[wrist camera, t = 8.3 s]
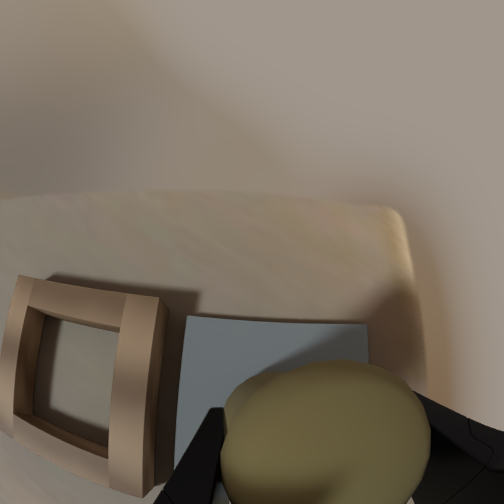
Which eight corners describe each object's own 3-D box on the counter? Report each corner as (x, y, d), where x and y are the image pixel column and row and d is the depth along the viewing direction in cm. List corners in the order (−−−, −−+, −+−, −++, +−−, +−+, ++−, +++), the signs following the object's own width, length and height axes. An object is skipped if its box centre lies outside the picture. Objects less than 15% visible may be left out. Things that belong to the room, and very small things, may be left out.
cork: (198, 421, 13) (124, 476, 3) (273, 350, 15) (342, 269, 6) (276, 485, 11) (341, 597, 1) (347, 412, 13) (494, 414, 4)
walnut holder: (154, 486, 12) (142, 498, 10) (15, 428, 12) (-4, 427, 9) (169, 309, 18) (159, 297, 16) (35, 286, 18) (18, 274, 16)
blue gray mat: (356, 485, 12) (361, 488, 11) (176, 485, 12) (173, 489, 11) (362, 326, 18) (367, 323, 17) (189, 318, 18) (187, 315, 17)
